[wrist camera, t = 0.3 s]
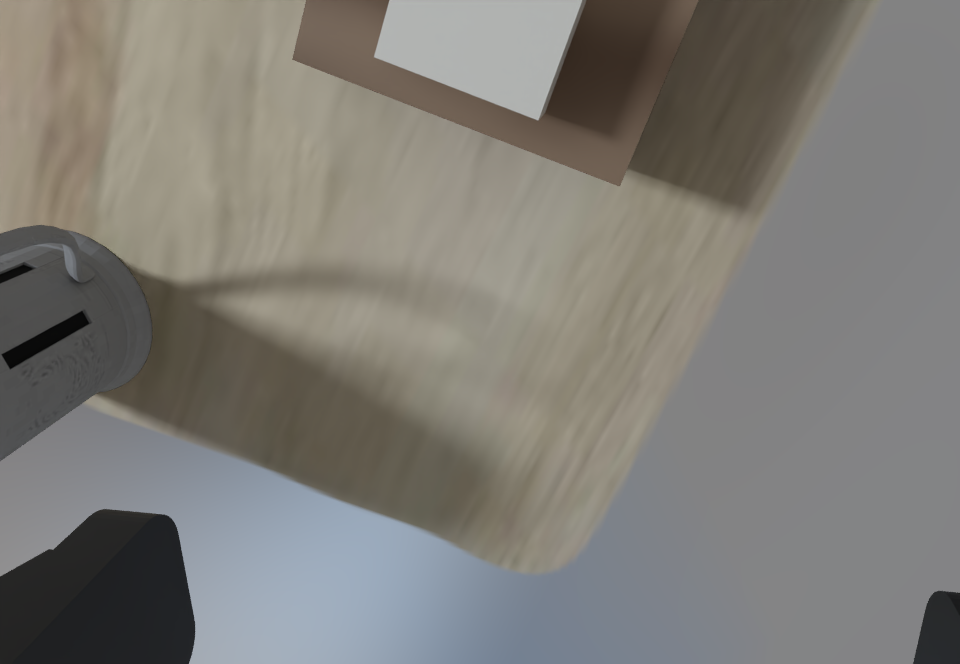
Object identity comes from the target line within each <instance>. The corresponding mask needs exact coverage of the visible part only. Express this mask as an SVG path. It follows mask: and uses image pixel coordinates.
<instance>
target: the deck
mask: <svg viewBox="0 0 960 664" xmlns="http://www.w3.org/2000/svg"><path fill="white" fill-rule="evenodd" d="M698 1H699V0H586V3H585V6H584V8H583V11H582V14H581V17H580V19H579V22H578V25H577V27H576V30H575V33H574V36H573V38H572V41H571V44H570V46H569V49H568V52H567V54H566V57H565V60H564V63H563V65H562V68H561V71H560V73H559V76H558V79H557V82H556V84H555V87H554V90H553V92H552V95H551V98H550V100H549V103H548V106H547V109H546V111H545V114H544V115H543V116H542V117H541V118H540V119H539V120H536V119H533V118H530V117H528V116H525V115H523V114H520V113H517V112H515V111H512V110H510V109H507V108H505V107H502V106H499V105H497V104H494V103H492V102H489V101H486V100H484V99H481V98H479V97H476V96H473V95H471V94H468V93H466V92H463V91H460V90H458V89H455V88H453V87H450V86H448V85H445V84H442V83H440V82H437V81H435V80H432V79H429V78H427V77H424V76H422V75H419V74H416V73H414V72H411V71H409V70H406V69H404V68H401V67H398V66H396V65H393V64H391V63H388V62H385V61H383V60H380V59H378V58H375V57H374V55H375V51H376V48H377V44H378V40H379V37H380V33H381V29H382V26H383V22H384V18H385V15H386V11H387V7H388V4H389V0H306V4H305V8H304V12H303V16H302V21H301V25H300V29H299V34H298V38H297V42H296V47H295V51H294V55H293V60H295V61H297V62H300V63H303V64H305V65H308V66H310V67H313V68H315V69H318V70H321V71H323V72H326V73H328V74H331V75H334V76H336V77H339V78H341V79H344V80H346V81H349V82H352V83H354V84H357V85H359V86H362V87H364V88H367V89H370V90H372V91H375V92H377V93H380V94H383V95H385V96H388V97H390V98H393V99H395V100H398V101H401V102H403V103H406V104H408V105H411V106H413V107H416V108H419V109H421V110H424V111H426V112H429V113H431V114H434V115H437V116H439V117H442V118H444V119H447V120H450V121H452V122H455V123H457V124H460V125H462V126H465V127H468V128H470V129H473V130H475V131H478V132H480V133H483V134H486V135H488V136H491V137H493V138H496V139H499V140H501V141H504V142H506V143H509V144H511V145H514V146H517V147H519V148H522V149H524V150H527V151H529V152H532V153H535V154H537V155H540V156H542V157H545V158H547V159H550V160H553V161H555V162H558V163H560V164H563V165H566V166H568V167H571V168H573V169H576V170H578V171H581V172H584V173H586V174H589V175H591V176H594V177H596V178H599V179H602V180H604V181H607V182H609V183H612V184H615V185H617V186H620V185H621V182H622V180H623V178H624V175H625V173H626V170H627V168H628V166H629V163H630V161H631V159H632V156H633V154H634V152H635V149H636V147H637V145H638V142H639V140H640V137H641V135H642V133H643V130H644V128H645V126H646V123H647V121H648V119H649V116H650V114H651V112H652V109H653V107H654V104H655V102H656V100H657V97H658V95H659V93H660V90H661V88H662V86H663V83H664V81H665V79H666V76H667V74H668V71H669V69H670V67H671V64H672V62H673V60H674V57H675V55H676V53H677V50H678V48H679V45H680V43H681V41H682V38H683V36H684V34H685V31H686V29H687V27H688V24H689V22H690V20H691V17H692V15H693V12H694V10H695V8H696V5H697V3H698Z"/></svg>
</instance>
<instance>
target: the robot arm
mask: <svg viewBox="0 0 960 664" xmlns="http://www.w3.org/2000/svg"><path fill="white" fill-rule="evenodd" d="M194 640H195V621H194V615H193V609H192V604H191V599H190V593H189V589H188V583H187V577H186V572H185V567H184V562H183V556H182V551H181V545H180V540H179V535H178V531H177V527H176V525H175V523H174V522H173V520H172V519H171V518H170V517H169V516H166V515H162V514H152V513H141V512H130V511H120V510H109V509H103V510H99V511H97V512H95V513H93V514H92V515H91V516H89V517H88V518H87V519H86V520H85V521H84V522H83V523H82V524H81V525H79V527H77V528H76V529H75V530H74V531H73V532H72V533H71V534H70V535H69V536H68V537H67V538H65V539H64V540H63V541H62V542H61V543H60V544H59V545H58V546H57V547H56V548H55V549H54V550H50V549H49V550H47V551H45V552H43V553H42V554H40V555H38V556H36V557H34V558H33V559H31V560H29V561H27V562H26V563H24V564H22V565H20V566H18V567H17V568H15V569H13V570H11V571H9V572H8V573H6V574H4V575H3V576H0V664H189V661H190V658H191V655H192V651H193V646H194ZM913 664H960V593H956V592H945V591H937V592H935V593H933V595H932V596H931V597H930V599H929V601H928V603H927V606H926V610H925V614H924V618H923V623H922V627H921V632H920V636H919V641H918V645H917V649H916V654H915V658H914V663H913Z"/></svg>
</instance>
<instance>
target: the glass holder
mask: <svg viewBox="0 0 960 664" xmlns="http://www.w3.org/2000/svg"><path fill="white" fill-rule="evenodd" d="M151 342H152V322H151V316H150V311H149V308H148V305H147V302H146V299H145V296H144V294H143V292H142V290H141V288H140V286H139V284H138V283H137V281H136V279H135V278H134V277H133V275H132V274H131V272H130V271H129V270H128V268H127V267H126V266H125V265H124V264H123V263H122V262H121V261H120V260H119V259H118V258H117V257H116V256H115V255H114V254H113V253H111V252H110V251H109V250H108V249H106V248H105V247H104V246H102V245H101V244H99V243H97V242H96V241H94V240H92V239H90V238H88V237H86V236H83V235H81V234H78V233H76V232H72V231H67V230H62V229H59V228H57V227H53V226H45V225H37V226H30V227H22V228H18V229H14V230H11V231H8V232H4V233H1V234H0V461H1V460H3V459H4V458H5V457H7V456H8V455H10V454H11V453H12V452H14V451H15V450H17V449H18V448H19V447H21V446H22V445H24V444H25V443H26V442H28V441H29V440H31V439H32V438H33V437H35V436H37V435H38V434H39V433H40V432H42V431H43V430H45V429H46V428H48V427H49V426H51V425H52V424H53V423H55V422H56V421H58V420H59V419H60V418H62V417H63V416H65V415H66V414H68V413H69V412H70V411H72V410H73V409H75V408H76V407H78V406H79V405H80V404H82V403H83V402H85V401H86V400H87V399H89V398H90V397H92V396H93V395H95V394H96V393H97V392H105V391H109V390H112V389H115V388H118V387H120V386H122V385H123V384H125V383H127V382H129V381H130V380H131V379H132V378H133V377H134V376H135V375H137V374H138V373H139V371H140V370H141V368H142V367H143V365H144V364H145V362H146V359H147V357H148V354H149V352H150V347H151Z"/></svg>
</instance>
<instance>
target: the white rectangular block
mask: <svg viewBox="0 0 960 664" xmlns="http://www.w3.org/2000/svg"><path fill="white" fill-rule="evenodd" d="M585 3H586V0H389V4H388V7H387V11H386V15H385V18H384V22H383V26H382V29H381V33H380V37H379V40H378V44H377V48H376V51H375V55H374V57H375V58H378V59H380V60H383V61H385V62H388V63H391V64H393V65H396V66H398V67H401V68H404V69H406V70H409V71H411V72H414V73H416V74H419V75H422V76H424V77H427V78H429V79H432V80H435V81H437V82H440V83H442V84H445V85H448V86H450V87H453V88H455V89H458V90H460V91H463V92H466V93H468V94H471V95H473V96H476V97H479V98H481V99H484V100H486V101H489V102H492V103H494V104H497V105H499V106H502V107H505V108H507V109H510V110H512V111H515V112H517V113H520V114H523V115H525V116H528V117H530V118H533V119H536V120H539V119H540V118H541V117H542V116H543V115H544V114H545V111H546V109H547V106H548V103H549V100H550V98H551V95H552V92H553V90H554V87H555V84H556V82H557V79H558V76H559V73H560V71H561V68H562V65H563V63H564V60H565V57H566V54H567V52H568V49H569V46H570V44H571V41H572V38H573V36H574V33H575V30H576V27H577V25H578V22H579V19H580V17H581V14H582V11H583V8H584V6H585Z"/></svg>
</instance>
